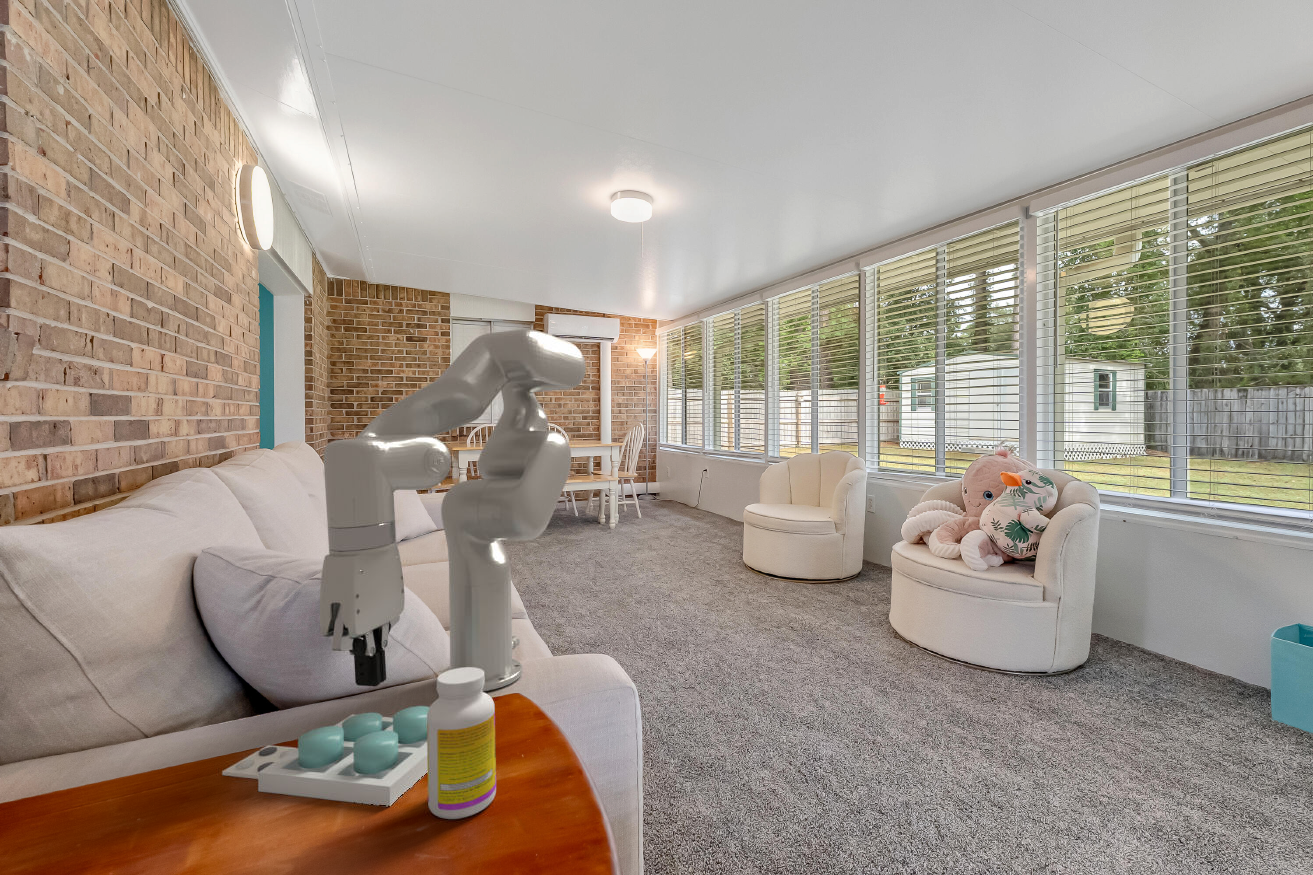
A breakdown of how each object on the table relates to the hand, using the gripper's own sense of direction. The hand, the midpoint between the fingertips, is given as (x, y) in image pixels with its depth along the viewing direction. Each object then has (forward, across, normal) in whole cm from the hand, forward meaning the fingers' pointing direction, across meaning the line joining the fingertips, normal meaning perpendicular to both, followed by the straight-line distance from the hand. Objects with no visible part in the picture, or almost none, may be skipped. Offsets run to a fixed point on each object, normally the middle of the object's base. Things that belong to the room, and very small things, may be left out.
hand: (371, 682), depth 73 cm
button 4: (+5, +2, +7) cm, 9 cm away
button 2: (+6, +2, 0) cm, 7 cm away
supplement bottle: (+7, +10, +18) cm, 22 cm away
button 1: (+5, +8, 0) cm, 10 cm away
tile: (+7, +7, -9) cm, 13 cm away
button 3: (+5, +8, +7) cm, 12 cm away
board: (+7, +5, +3) cm, 9 cm away
